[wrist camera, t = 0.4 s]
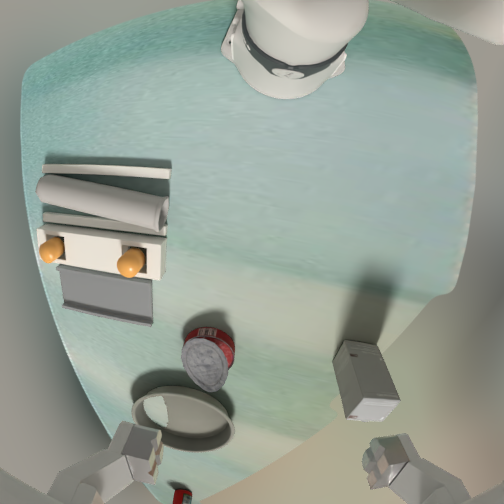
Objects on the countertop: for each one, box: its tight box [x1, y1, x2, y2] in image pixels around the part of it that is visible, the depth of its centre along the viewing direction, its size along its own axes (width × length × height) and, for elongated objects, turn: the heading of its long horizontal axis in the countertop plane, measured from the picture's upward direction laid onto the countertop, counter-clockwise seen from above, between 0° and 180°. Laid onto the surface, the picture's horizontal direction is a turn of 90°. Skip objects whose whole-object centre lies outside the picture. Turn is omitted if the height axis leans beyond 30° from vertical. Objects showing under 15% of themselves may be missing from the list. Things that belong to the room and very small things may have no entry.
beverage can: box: [173, 489, 192, 504], centre depth 75 cm, size 7×7×12 cm
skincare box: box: [332, 340, 401, 422], centre depth 48 cm, size 8×7×16 cm
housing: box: [37, 164, 172, 280], centre depth 44 cm, size 17×25×4 cm
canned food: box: [181, 327, 235, 392], centre depth 52 cm, size 11×10×10 cm
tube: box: [35, 174, 169, 232], centre depth 42 cm, size 5×5×25 cm
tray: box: [56, 264, 153, 327], centre depth 50 cm, size 9×20×2 cm, turn 82°
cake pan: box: [132, 386, 235, 452], centre depth 60 cm, size 25×25×4 cm
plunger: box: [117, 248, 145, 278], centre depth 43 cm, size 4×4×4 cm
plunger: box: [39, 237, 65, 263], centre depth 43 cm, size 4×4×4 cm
